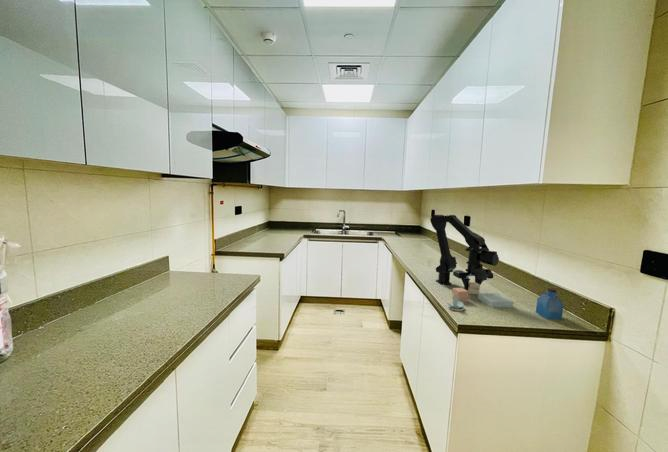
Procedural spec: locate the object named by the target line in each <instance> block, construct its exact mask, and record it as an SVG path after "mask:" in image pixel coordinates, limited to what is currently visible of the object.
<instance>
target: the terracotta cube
mask: <svg viewBox="0 0 668 452" xmlns="http://www.w3.org/2000/svg"><path fill="white" fill-rule="evenodd" d="M454 294H457V295H458V297H459V299H458V301H460V302H462V303H466V302H467V303H468V301H469V291H467V290H465V289H464V287H452V289H451V297H452V296H453V295H454ZM458 301H457V302H458Z"/></svg>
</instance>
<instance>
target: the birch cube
mask: <svg viewBox="0 0 668 452" xmlns="http://www.w3.org/2000/svg"><path fill="white" fill-rule="evenodd" d="M480 287H481V285H480V284H478V283H476V282H475V280H474V281H472V280H470V281H469V285H468V291H469V293H468V295H478V293H480ZM463 288H464V289H465V287H464V286H463ZM465 290H466V289H465Z"/></svg>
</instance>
